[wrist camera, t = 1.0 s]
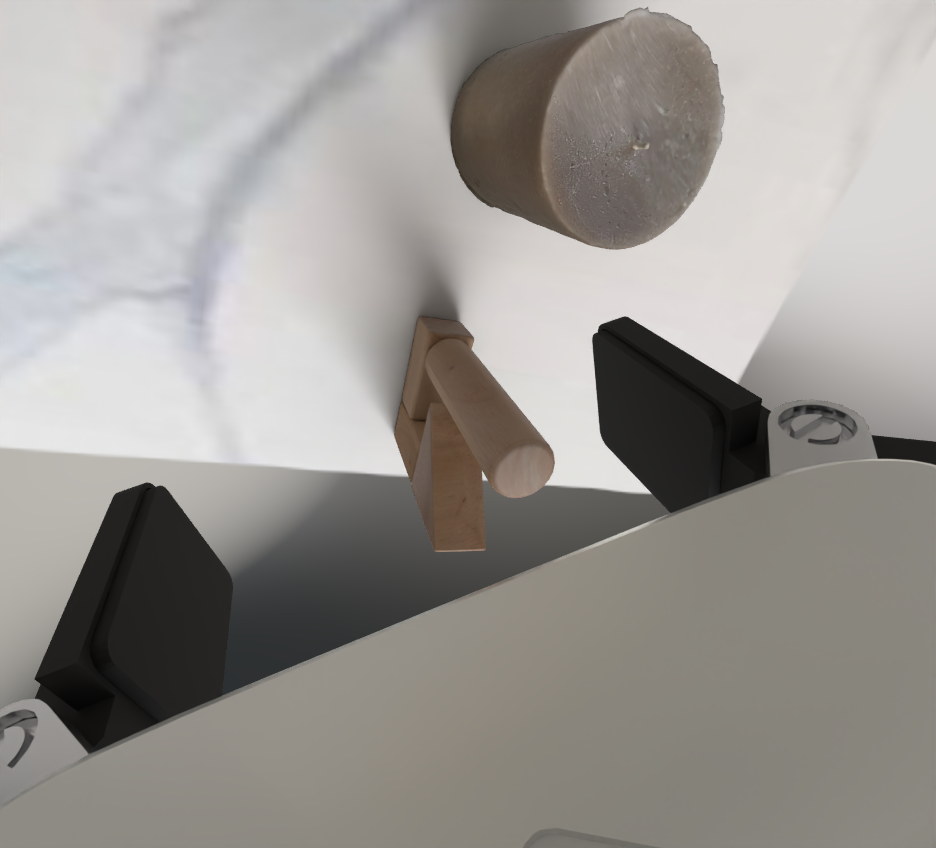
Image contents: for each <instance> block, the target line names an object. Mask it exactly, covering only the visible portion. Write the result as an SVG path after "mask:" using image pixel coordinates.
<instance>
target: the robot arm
mask: <svg viewBox="0 0 936 848" xmlns="http://www.w3.org/2000/svg"><path fill="white" fill-rule="evenodd" d="M592 342H593V354H594V366H595V378H596V390H597V402H598V413H599V425H600V433H601V437H602V439H603V441H604V443H605V444H606V446H607V447H608V448H609V449H610V450H611V451H612V452H613V453H614V454H615V455H616V456H617V457H618V458H619V459H620V461H621V462H622V463H623V464H624V465H625V466H626V467H627V468H628V469H629V470H630V471H631V472H632V473H633V474H634V475H635V476H636V477H637V478H638V479H639V480H640V481H641V483H642V484H643V485H644V486H645V487H646V488H647V489H648V490H649V491H650V492H651V493H652V494H653V495H654V496H655V497H656V498H657V499H658V500H659V501H660V502H661V503H662V505H664V506H665V507H666V509H667V510H668V511H669V512H670V513H671V514H668V515H665V516H663V517H660V518H658V519H655V520H653V521H650V522H647V523H645V524H643V525H640V526H638V527H635V528H633V529H630V530H628V531H625V532H623V533H620V534H618V535H615V536H613V537H610V538H608V539H605V540H603V541H600V542H598V543H595V544H593V545H590V546H588V547H585V548H583V549H580V550H578V551H575V552H573V553H570V554H568V555H565V556H563V557H560V558H558V559H555V560H553V561H550V562H548V563H545V564H543V565H540V566H538V567H535V568H533V569H530V570H528V571H526V572H523V573H521V574H518V575H516V576H513V577H511V578H508V579H506V580H503V581H501V582H498V583H496V584H493V585H491V586H489V587H486V588H484V589H481V590H478V591H476V592H474V593H471V594H469V595H466V596H464V597H461V598H459V599H456V600H454V601H452V602H449V603H447V604H445V605H442V606H439V607H437V608H435V609H432V610H430V611H427V612H424V613H422V614H420V615H417V616H415V617H412V618H410V619H407V620H405V621H402V622H400V623H398V624H395V625H393V626H390V627H388V628H385V629H383V630H381V631H378V632H376V633H373V634H371V635H368V636H366V637H363V638H361V639H359V640H356V641H354V642H351V643H349V644H347V645H344V646H342V647H339V648H337V649H334V650H332V651H330V652H327V653H325V654H322V655H320V656H317V657H315V658H313V659H310V660H308V661H305V662H303V663H300V664H298V665H296V666H293V667H291V668H288V669H286V670H284V671H282V672H279V673H277V674H274V675H271V676H269V677H267V678H264V679H262V680H259V681H257V682H255V683H252V684H250V685H247V686H245V687H242V688H240V689H238V690H235V691H233V692H231V693H228V694H226V695H223V696H222V689H223V679H224V669H225V660H226V650H227V640H228V630H229V621H230V611H231V600H232V591H233V585H232V579H231V576H230V574H229V572H228V571H227V570H226V568H225V566H224V565H223V564H222V562H221V561H220V560H219V558H218V557H217V556H216V554H215V553H214V552H213V550H212V549H211V548H210V546H209V545H208V544H207V542H206V541H205V540H204V538H203V537H202V536H201V534H200V533H199V532H198V530H197V529H196V528H195V526H194V525H193V524H192V522H191V521H190V519H189V518H188V517H187V515H186V514H185V513H184V511H183V510H182V509H181V507H180V506H179V505H178V503H177V502H176V501H175V499H174V498H173V497H172V495H171V494H170V493H169V491H168V490H167V489H166V488H165V487H163V486H157V487H155V486H154V485H153V484H151V483H144V484H141V485H138V486H135V487H132V488H130V489H127V490H124V491H121V492H118V493H116V494H115V495H114V497H113V499H112V501H111V504H110V506H109V508H108V510H107V512H106V515H105V517H104V520H103V522H102V524H101V527H100V529H99V531H98V533H97V536H96V538H95V540H94V543H93V545H92V547H91V550H90V552H89V554H88V557H87V559H86V561H85V563H84V566H83V568H82V570H81V573H80V575H79V577H78V580H77V582H76V584H75V587H74V589H73V591H72V593H71V596H70V598H69V600H68V603H67V605H66V607H65V610H64V612H63V614H62V617H61V619H60V621H59V623H58V626H57V628H56V630H55V633H54V635H53V637H52V640H51V642H50V645H49V647H48V649H47V651H46V654H45V656H44V658H43V661H42V663H41V665H40V667H39V670H38V672H37V674H36V677H35V680H36V681H37V682H39V683H40V684H41V685H40V687H39V690H38V692H37V695H36V697H35V699H26V700H23V701H19V702H16V703H13V704H10V705H8V706H7V707H5V708H3V709H1V710H0V848H936V442H933V441H923V440H913V439H903V438H893V437H884V436H874V435H871V433H870V429H869V426H868V424H867V423H866V421H865V419H864V418H863V417H862V416H860V415H859V414H858V413H857V412H855V411H854V410H851V409H849V408H847V407H845V406H843V405H839V404H836V403H832V402H828V401H819V400H797V401H792V402H788V403H785V404H782V405H780V406H778V407H776V408H775V409H774V410H773V411H772V412H771V411H769V410H768V409H766V408H765V407H763V406H762V405H761V403H762V399H761V398H760V397H758V396H756V395H755V394H753V393H751V392H750V391H748V390H746V389H745V388H743V387H741V386H740V385H738V384H737V383H735V382H733V381H732V380H730V379H728V378H727V377H725V376H724V375H722V374H720V373H719V372H717V371H715V370H714V369H712V368H710V367H709V366H707V365H706V364H704V363H702V362H701V361H699V360H697V359H696V358H694V357H692V356H691V355H689V354H688V353H686V352H684V351H683V350H681V349H679V348H678V347H676V346H674V345H673V344H671V343H669V342H668V341H666V340H665V339H663V338H661V337H660V336H658V335H656V334H655V333H653V332H651V331H650V330H648V329H647V328H645V327H643V326H642V325H640V324H638V323H637V322H635V321H633V320H632V319H630V318H629V317H626V316H625V317H621V318H618V319H615V320H613V321H610V322H607V323H604V324H601V325H600V326H599V329H598V333H595V334H594V335H593V338H592Z"/></svg>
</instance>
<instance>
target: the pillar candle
mask: <svg viewBox="0 0 936 848" xmlns="http://www.w3.org/2000/svg"><path fill="white" fill-rule="evenodd" d="M723 98H724V97H723V96H722V94H721V89H720V85H719V77H718V68H717V64H714V63H713V62H712V59H711V52H710V50H709V47H708V45H706V44H704V43H703V41H702V40H701V39H700V37H699V36H698V35H696V34H695V33H694V32H693V31H692V27H691V26H690V25H687V24H685V23H683V22H681V21H680V20H678V19H675V18H674V17H672V16H671V15H669V14H664V13H656V12H649V10H648V7H647V8H646V9H642V8H638V9H634V10H631V11H629V12H628V13H627V14H625V17H621V18H617V19H613V20H609V21H606V22H603V23H600V24H595V25H593V26H589V27H586V28H581V29H578V30H573V31H568V32H567V33H562V34H555V35H551V36H548V37H544V38H541V39H538V40H535V41H532V42H529V43H525V44H521V45H519V46H517V47H513V48H510V49H505V50H502V51H500V52H497V53H496V54H494V55H493V56H491V57H490V58H488V59H487V60H486V61H484V62H483V63H482V64H481V65H480V66H479V67H478V68H477V69H476V70H475V71H474V72H473V73H472V75H471V76H470V77H469V79H468V80H467V81H466V82H465V83H464V85H463V87H462V90H461V92H460V95H459V97H458V99H457V102H456V105H455V110H454V114H453V119H452V126H451V145H452V152H453V156H454V160H455V163H456V166H457V168H458V169H459V173H460V176H461V178H462V180H463V181H464V183H465V184H466V186H467V187H468V189H469V190H470V191H471V192H472V193H473V194H474V195H475V196H476V197H477V198H478V199H479V200H480V201H482V202H483V203H485V204H486V205H488V206H490V207H496V208H499V209H501V210H502V211H505V212H507V213H510V214H514V215H516V216H519V217H522V218H524V219H526V220H528V221H530V222H532V223H535V224H537V225H540V226H543V227H546V228H548V229H550V230H553V231H556V232H558V233H560V234H562V235H565V236H568V237H570V238H573V239H576V240H578V241H580V242H583V243H585V244H588V245H591V246H595V247H600V248H605V249H625V248H630V247H634V246H637V245H640V244H643V243H646V242H648V241H650V240H652V239H653V238H655V237H657V236H658V235H660V234H661V233H662V232H664V231H665V230H666V229H668V228H669V227H670V226H671V225H673V224H674V223H675V222H676V221H677V220H678V219H679V218H680V217H681V215H682V214H683V213H684V212H685V211H686V209H687V208H688V207H689V205H690V204H691V203H692V202H693V201H694V198H695V197H696V196H697V194H698V192H699V191H700V189H701V187H702V186H703V184H704V182H705V180H706V178H707V176H708V174H709V171H710V168H711V165H712V163H713V160H714V157H715V155H716V152H717V150H718V148H719V146H720V144H721V141H722V132H721V128H722V126H723V123H724V113H725V108H724V105H723V104H722V103H723Z"/></svg>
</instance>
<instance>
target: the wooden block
mask: <svg viewBox="0 0 936 848" xmlns="http://www.w3.org/2000/svg"><path fill="white" fill-rule="evenodd" d="M473 342H474V337H473V336H472V335H471V334H470V332H469V331H468V330H467V329H466V328H465V327H464V325H463V324H462V323H460V322H457V321H450V320H443V319H436V318H430V317H423V316H422V317H419V318H418V321H417V326H416V331H415V336H414V341H413V345H412V350H411V355H410V360H409V365H408V370H407V375H406V380H405V385H404V390H403V395H402V400H403V401H402V403H401V405H400V409H399V414H398V419H397V424H396V429H395V434H394V436H395V440H396V442H397V445H398V448H399V451H400V454H401V456H402V459H403V462H404V465H405V467H406V470H407V473H408V476H409V479H410V481H411V483H412V485H411V487H412V490H413V493H414V496H415V499H416V501H417V504H418V507H419V510H420V513H421V515H422V518H423V521H424V524H425V527H426V530H427V532H428V535H429V538H430V541H431V544H432V546H433V549H434V551H436V552H446V551H478V550H479V551H480V550H485V549H486V541H485V523H484V503H483V485H482V471H483V472H484V474H485V476H486V478H487V479H488V481H489V483H490V485H491V486H492V487H493V489H494V490H495V491H496V492H498V493H500V494H501V495H503V496H505V497H511V498H520V497H525V496H528V495H530V494H533V493H535V492H536V491H537V490H539V489H540V488H542V487H543V486H544V485H545V483H546V482H547V481H548V480H549V478H550V476H551V475H552V473H553V469H554V464H555V461H554V454H553V451H552V449H551V448H550V446H549V444H548V443H547V442H546V441H545V440H544V438H543V437H542V436H541V435H540V433H539V432H538V431H537V430H536V428H535V427H534V426H533V425H532V424H531V422H530V421H529V420H528V419H527V417H526V416H525V415H524V414H523V413H522V411H521V410H520V409H519V408H518V406H517V405H516V404H515V403H514V401H513V400H512V399H511V398H510V397H509V395H508V394H507V393H506V392H505V390H504V389H503V388H502V387H501V385H500V384H499V383H498V382H497V381H496V379H495V378H494V377H493V376H492V374H491V373H490V372H489V371H488V370H487V368H486V367H485V366H484V365H483V363H482V362H481V361H480V360H479V358H478V357H477V356H476V355H475V354H474V352H473V351H472V350H471V349H472V346H473Z"/></svg>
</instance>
